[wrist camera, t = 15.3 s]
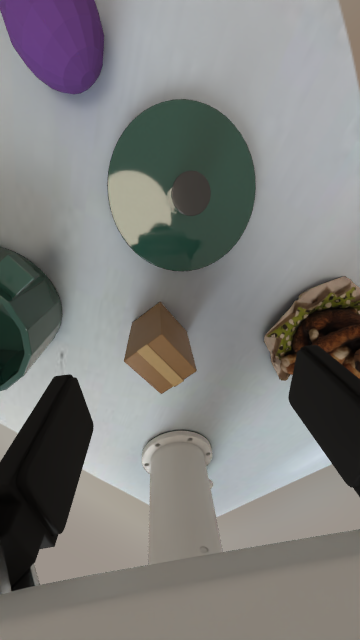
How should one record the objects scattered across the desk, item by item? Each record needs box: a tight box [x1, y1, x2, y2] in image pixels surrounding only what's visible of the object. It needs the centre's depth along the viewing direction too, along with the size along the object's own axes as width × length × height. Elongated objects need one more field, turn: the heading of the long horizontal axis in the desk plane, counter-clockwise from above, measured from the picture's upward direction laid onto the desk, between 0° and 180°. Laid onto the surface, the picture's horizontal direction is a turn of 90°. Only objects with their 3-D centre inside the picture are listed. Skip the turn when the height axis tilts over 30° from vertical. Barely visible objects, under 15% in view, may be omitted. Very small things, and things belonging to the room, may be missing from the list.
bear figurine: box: [264, 276, 360, 381], centre depth 26 cm, size 14×15×12 cm
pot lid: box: [107, 99, 256, 271], centre depth 19 cm, size 14×14×6 cm
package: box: [124, 302, 197, 394], centre depth 25 cm, size 6×5×8 cm
